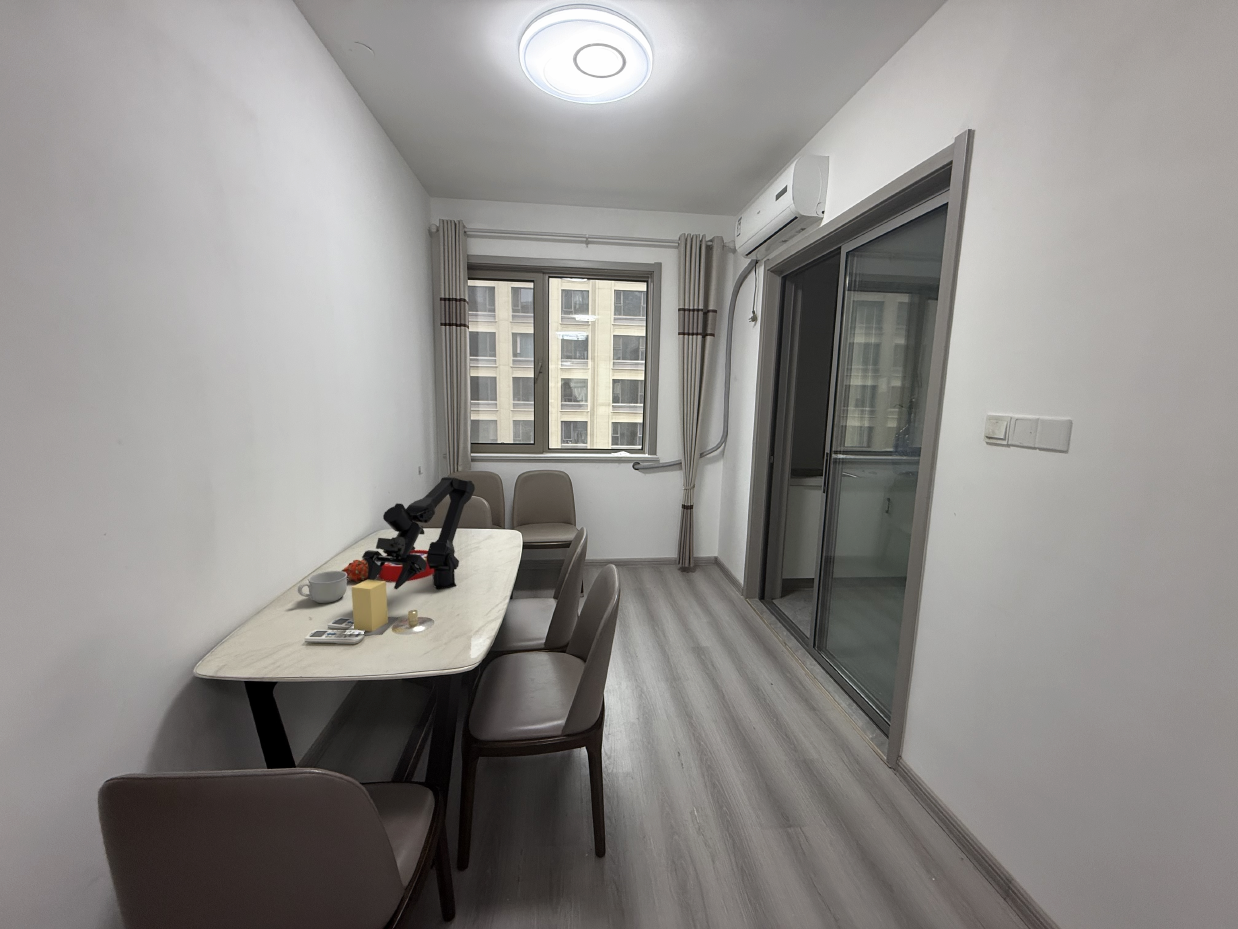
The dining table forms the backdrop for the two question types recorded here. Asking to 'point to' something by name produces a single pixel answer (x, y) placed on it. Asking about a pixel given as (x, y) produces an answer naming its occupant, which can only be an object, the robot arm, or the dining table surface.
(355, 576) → the dragon fruit
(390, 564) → the toy clock
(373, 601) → the tan wooden brick
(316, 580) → the teacup
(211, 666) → the dining table surface
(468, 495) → the robot arm
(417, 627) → the silver metal disc
